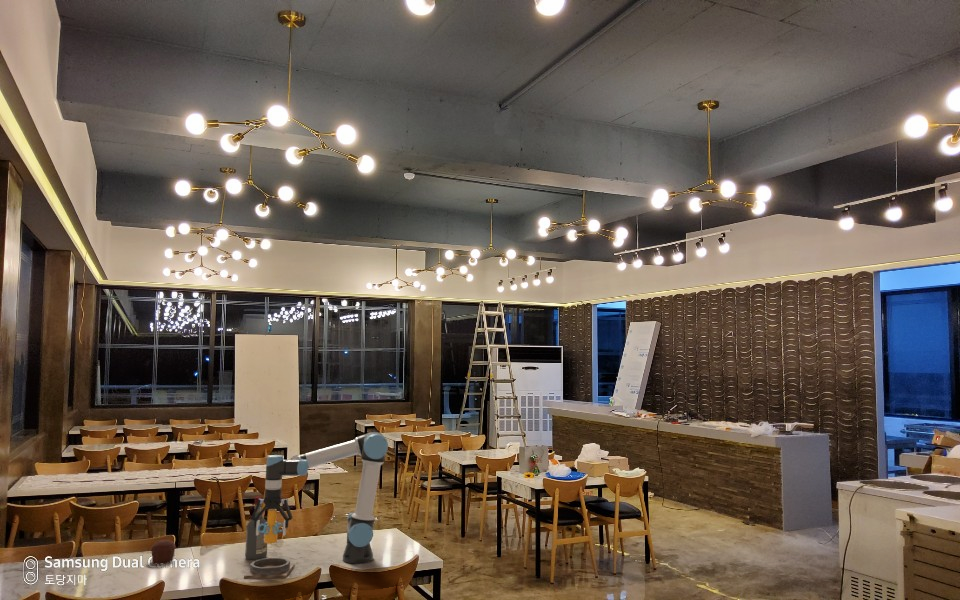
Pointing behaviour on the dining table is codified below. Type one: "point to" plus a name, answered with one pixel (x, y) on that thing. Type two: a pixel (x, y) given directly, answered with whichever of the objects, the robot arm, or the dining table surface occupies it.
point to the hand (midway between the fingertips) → (270, 534)
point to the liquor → (255, 538)
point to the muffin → (163, 551)
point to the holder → (270, 568)
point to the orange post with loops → (270, 527)
